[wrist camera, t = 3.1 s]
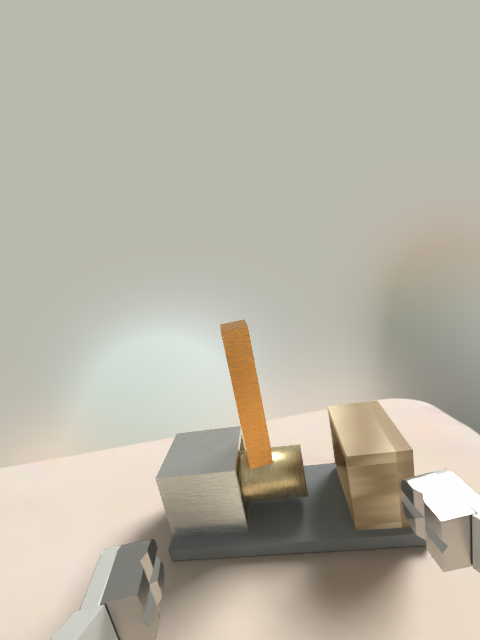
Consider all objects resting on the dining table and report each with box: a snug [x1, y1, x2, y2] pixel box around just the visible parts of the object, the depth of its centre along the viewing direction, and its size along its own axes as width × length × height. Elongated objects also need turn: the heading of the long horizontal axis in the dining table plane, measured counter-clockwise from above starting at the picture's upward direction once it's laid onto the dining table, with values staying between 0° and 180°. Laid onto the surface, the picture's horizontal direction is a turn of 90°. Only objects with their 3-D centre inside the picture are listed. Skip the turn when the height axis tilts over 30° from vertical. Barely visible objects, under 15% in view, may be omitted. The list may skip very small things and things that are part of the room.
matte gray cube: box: [156, 426, 251, 538], centre depth 24 cm, size 6×5×5 cm
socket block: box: [328, 401, 414, 531], centre depth 22 cm, size 4×6×6 cm, turn 175°
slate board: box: [169, 463, 426, 561], centre depth 24 cm, size 18×7×1 cm, turn 85°
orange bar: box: [220, 320, 308, 502], centre depth 22 cm, size 10×4×14 cm, turn 85°
